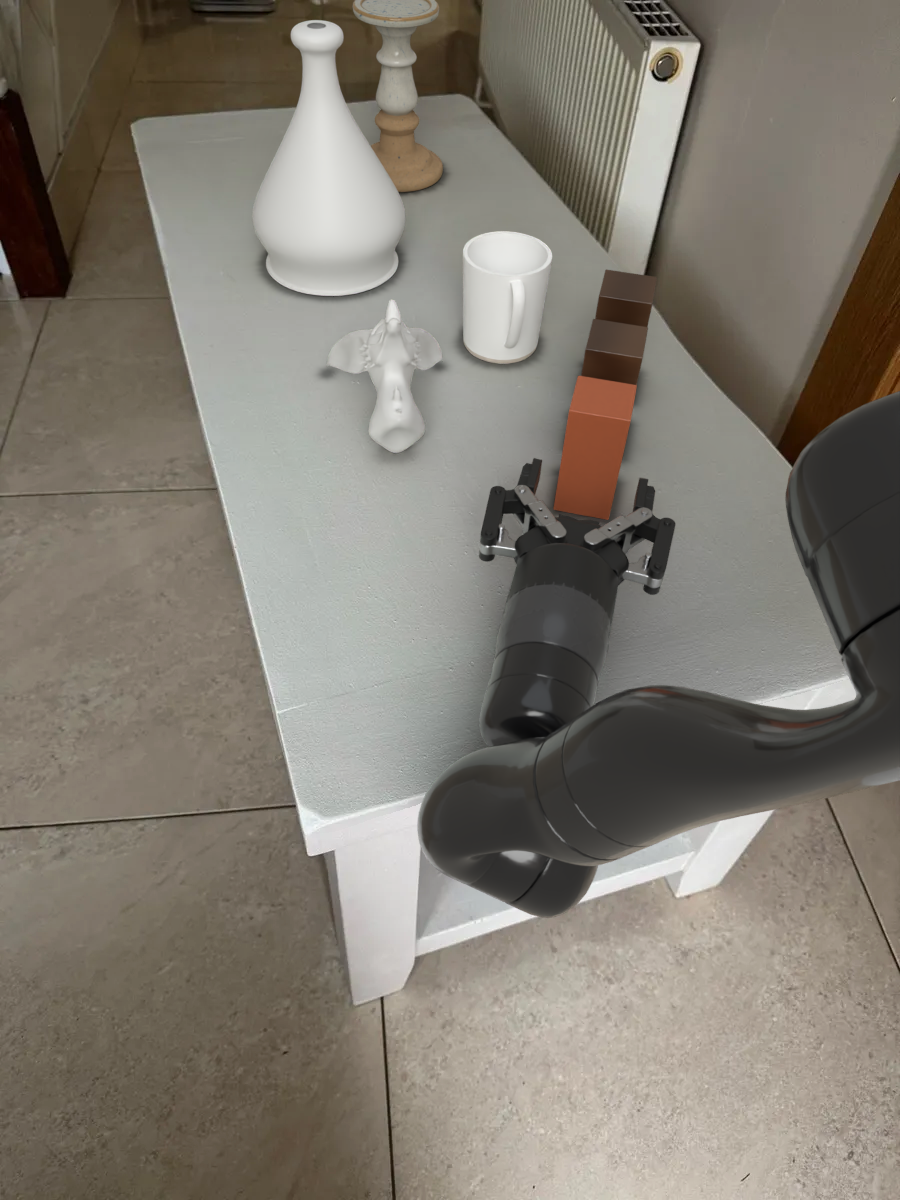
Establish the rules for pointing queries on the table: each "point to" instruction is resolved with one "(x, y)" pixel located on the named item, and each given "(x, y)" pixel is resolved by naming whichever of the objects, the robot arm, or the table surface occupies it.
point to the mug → (504, 295)
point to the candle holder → (400, 91)
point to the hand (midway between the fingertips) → (588, 476)
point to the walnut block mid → (614, 351)
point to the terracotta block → (594, 446)
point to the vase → (327, 187)
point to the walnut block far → (626, 298)
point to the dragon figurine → (390, 374)
